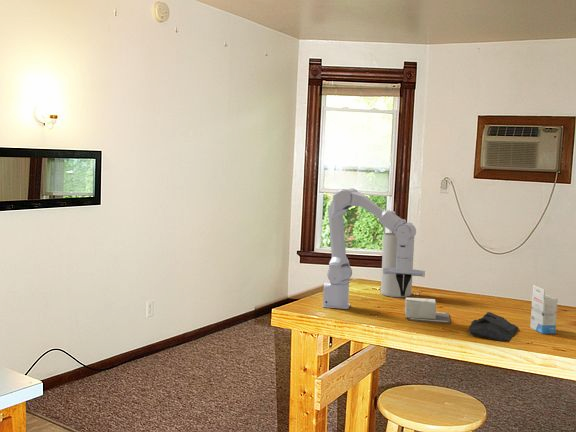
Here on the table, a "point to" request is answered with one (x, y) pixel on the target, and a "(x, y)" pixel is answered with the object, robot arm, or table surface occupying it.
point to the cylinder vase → (389, 261)
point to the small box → (420, 308)
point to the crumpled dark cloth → (493, 328)
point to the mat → (439, 319)
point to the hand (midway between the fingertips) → (402, 295)
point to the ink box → (543, 312)
